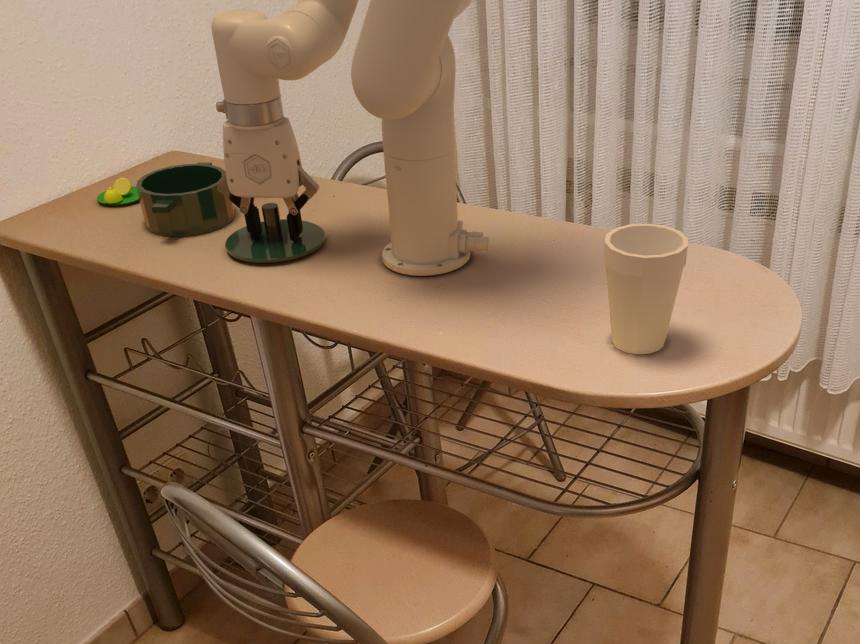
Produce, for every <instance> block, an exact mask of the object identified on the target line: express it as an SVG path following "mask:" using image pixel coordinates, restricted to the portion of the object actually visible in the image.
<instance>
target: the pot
mask: <svg viewBox="0 0 860 644" xmlns="http://www.w3.org/2000/svg"><path fill="white" fill-rule="evenodd" d="M225 173H226V171H225V169H224V168H223V167H220V166H217V165H213V162H204V161H203V162H202V161H201V162H199V161H198V162H197V163H185V164H177V165H171V166H165V167H163V168H158V169H156V170H152V171H150V172H149V173H146V174H144V175H142V176H141V177H140V178H139V179H138V180H137V182H136V185H135V187H136V188H137V192H138V196H139V200H138V201H139V203H140V207H141V211H142V216H143V219H144V223H145V226H146V228H147V230H149V232H151V233H153V234H155V235H158V236H162V237H170V238H171V237H173V238H185V237H192V236H193V237H194V236H200V235H204V234H208V233H211V232H214V231H217V230H220V229H222V228H224V227H226V226H228V225H229V224H231V222H232V221H233V220H234V218H235V207H234V203H232V202H231V201H230V199H229V198H228V197H226V196H225V195H223V194H222V193H221V192H219V191H218V190H217V186H218V184H219V183H220V181H221V180H222V178H223V176H224V175H225Z"/></svg>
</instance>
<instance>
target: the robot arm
mask: <svg viewBox="0 0 860 644" xmlns="http://www.w3.org/2000/svg"><path fill="white" fill-rule="evenodd" d="M473 1H474V0H370V1H369V4H368V6H367V7H368V8H367V10H366V13H365V17H364V20H363V23H362V26H361V30H360V33H359V36H358V39H357V42H356V46H355V48H354V53H353V57H352V61H351V69H350V79H351V85H352V90H353V93H354V95H355V98H356V99H357V101H358V102H359V104H360V105H361V106H362V108H363V109H364V110H365V111H366V112H368V113H369V114H370V115H372V116H374V117H376V118H378V119H381V134H382V135H381V137H382V149H383V150H382V153H383V162H384V172H385V185H386V195H387V205H388V206H387V207H388V217H389V218H388V219H389V227H390V228H389V229H390V239H391V241H390V242H389V243H388V244H386V245H385V246H384V248H383V249H382V251H381V258H382V259H381V260H382V263H383V264H384V266H385V267H386V268H388V269H389V270H391V271H393V272H394V273H397V274H401V275H407V276H413V277H414V276H416V277H417V276H418V277H427V276H429V277H430V276H437V275H442V274H447V273H449V272H453V271H455V270H458V269H460V268H462V267H463V266H464V265H465V264H467V263H468V262H469V260H470V259H471V251H476V252H489V251H490V245H491V243H490V237H489V236H484V231H468V230H467V229H464V221H463V220H459V217H458V216H459V214H458V195H457V172H456V152H455V149H456V144H455V143H456V142H455V118H454V116H455V115H454V114H455V113H454V112H455V90H456V56H455V55H456V54H455V49H454V46H453V43H452V41H451V38H450V36H449V33H450V30H451V27H452V25H453V23H454V21H455V19H456V18H458V17H459V16H460V15H461V14H462V13H463V12H464V11H465V10H467V8H469V6H470V5H471V4H472V2H473ZM358 4H359V0H298V1H297V3H296V6H294V7H292V8H290V9H288V10H287V11H285V12H284V13H281V14H278V15H276V16H274V17H271V18H268V16H267V15H266V14H265V13H264V12H262V11H261V10H258V9H252V8H237V9H231V10H225V11H222V12H220V13H218V14H216V15H215V16H214V17H213V18H212V20H211V27H210V28H211V35H212V40H213V45H214V52H215V57H216V61H217V67H218V73H219V77H220V83H221V87H222V93H223V98H224V99H223V100H222V101H217V102H216V105H215V107H216V112H217V113H222V114H225V117H226V121H225V122H223V124H222V147H223V148H222V149H223V150H222V151H223V159H224V160H223V161H224V167H225V168H224V170H225V171H226V173H225V175H224V176H223V178H222V180H221V181H220V183H219V184H218V186H217V190H218V191H219V192H221V193H222V194H223V195H225V196H226V197H228V198H229V199H230V201H231V202H232V203H233V205H235V206H236V208H238V209H239V211H240V213H241V214H243V215H244V220H245V227H247V231H248V232H250V235H251V240H256V239H257V238H258V237H259V236H260V235H261V233H262V226H261V222H262V221H261V216H260V215H261V214H260V210H259V208H258V206H257V205H255V200H256V198H257V199H258V198H260V199H261V198H262V199H263V198H264V199H282V200H283V201H284V203H285V206H286V208H287V211H288V214H287V215H286V219H287V223H288V229H289V235H290V240H291V241H296V240H297V238H298V237H299V235H300V233H302V231H303V226H302V221H303V219H302V213H301V210H302V208H303V207H304V206H305V205H306V204H307V202H308V201H309V200H311V199H312V198H313V197H314V196H315V195H316V194H317V193H318V191H320V187H321V186H320V185H319V184H318V183H317V181H316V180H314V178H312V177H311V176H310V174H308V172H307V171H306V170H305V169H304V168H303V164H302V159H301V155H300V150H299V147H298V146H299V145H298V143H297V138H296V136H295V132H294V130H293V127H292V124H291V122H290V118H289V117H287V116H285V115H284V107H283V102H282V95H281V87H280V82H279V81H280V80H282V81H298V80H301V79H303V78H305V77H307V76H309V75H310V74H312V73H313V72H315V71H316V70H317V69H319V68H320V67H321V66H322V65H323V64H326V63H327V62H328V61H330V60H331V59H332V58H334V56H336V54H337V53H338V52H339V51H340V49H341V47H342V45H343V43H344V41H345V39H346V36H347V33H348V31H349V29H350V26H351V23H352V20H353V18H354V15H355V12H356V9H357V6H358ZM302 186H303V187H304V189H305V190H304V191H303V192H302V193H301V194H300V195H299V192H298V191H299V188H300V187H302Z"/></svg>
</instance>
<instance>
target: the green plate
mask: <svg viewBox="0 0 860 644" xmlns="http://www.w3.org/2000/svg"><path fill="white" fill-rule="evenodd" d="M96 200H97V201H98V202H99V203H101V204H104V205H109V206H125V205H130V204H133V203H135V202H137V201H140V200H139V196H138V192H137V188H136V185H134V186H133V185H132V183H131V182H130V180H129V179H128V178H126V177H119V178H117V179H116V180H115V181H114V183H113V187H112V186H109V187H108V189H107V190H105V191H103V192H101V193H99V194H97V197H96Z"/></svg>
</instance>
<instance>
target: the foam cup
mask: <svg viewBox="0 0 860 644" xmlns="http://www.w3.org/2000/svg"><path fill="white" fill-rule="evenodd" d="M603 243H604V244H603V262H604V264H605V273H606V274H605V277H606V286H607V287H606V288H607V299H608V311H609V323H610V335H611V340H612V341H611V342H612V344H613V345H614V347H615V348H616V349H617V350H620V351H622V352H624V353H627V354H632V355H649V354H653V353H657V352H659V351H660V350H661V349H662V348H663V347H664V346H665V342H666V339H667V335H668V331H669V327H670V323H671V321H672V320H671V319H672V315H673V311H674V307H675V304H676V303H675V302H676V298H677V295H678V291H679V287H680V284H681V283H680V282H681V280H682V274H683V271H684V268H685V267H686V266H687V259H688V258H687V257H688V248H689V238H688V237H687V235H685V233H683V232H682V231H681V230H678V229H676V228H673V227H670V226H668V225H662V224H654V223H629V224H626V225H623V226H618V227H615V228H613V229H612V230H610V231H609V232H607V233H606V234H605V238H604V242H603Z"/></svg>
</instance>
